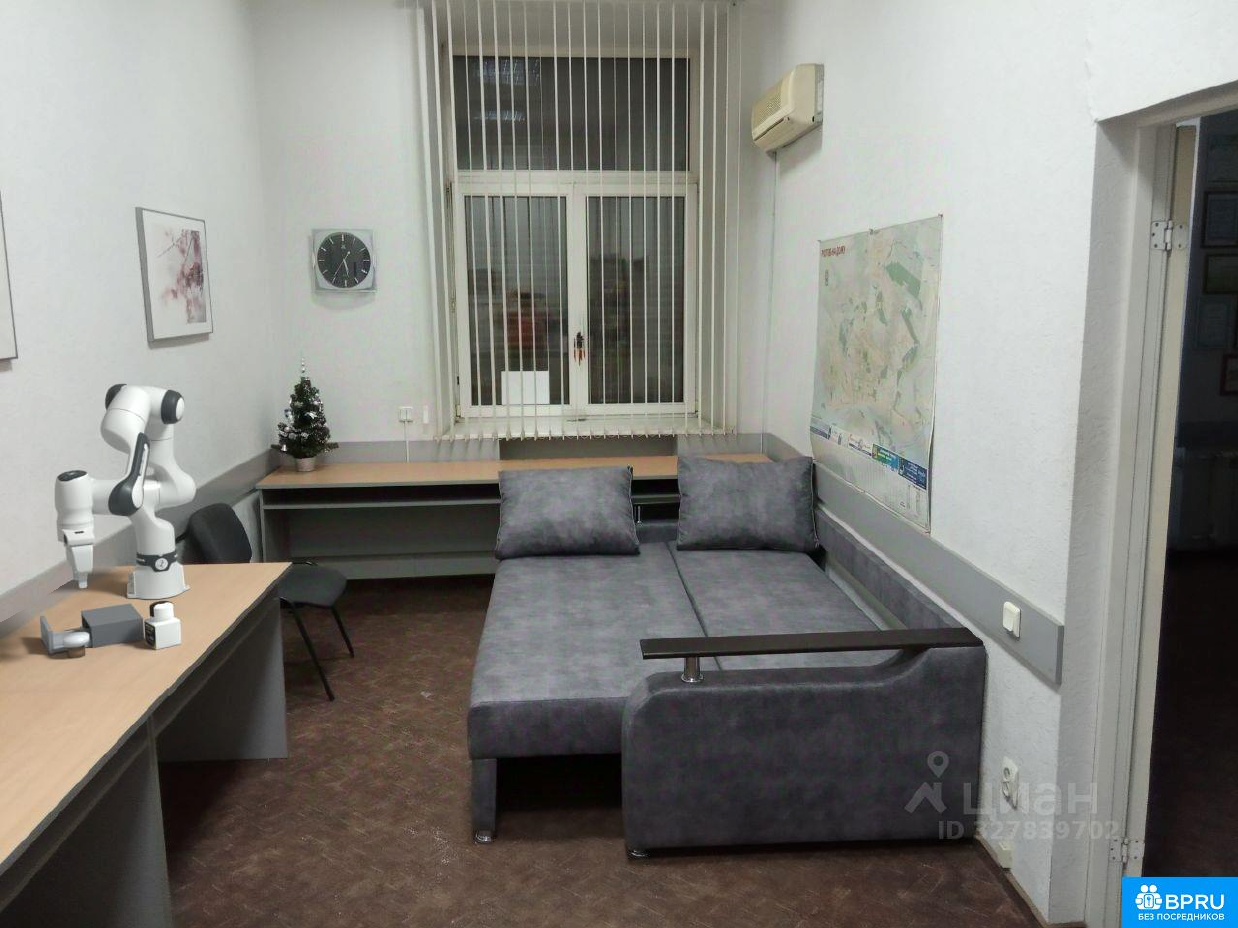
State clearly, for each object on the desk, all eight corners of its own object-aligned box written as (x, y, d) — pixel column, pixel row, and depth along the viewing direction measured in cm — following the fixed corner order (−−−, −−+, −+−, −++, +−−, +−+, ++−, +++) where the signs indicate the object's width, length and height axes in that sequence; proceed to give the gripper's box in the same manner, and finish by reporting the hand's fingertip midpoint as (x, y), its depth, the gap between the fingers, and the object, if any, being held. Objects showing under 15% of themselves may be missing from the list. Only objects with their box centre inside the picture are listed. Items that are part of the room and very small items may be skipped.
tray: (41, 638, 280) (39, 615, 278) (93, 629, 287) (91, 607, 286) (49, 654, 267) (48, 631, 266) (104, 645, 275) (102, 622, 274)
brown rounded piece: (67, 654, 268) (66, 642, 267) (84, 651, 270) (83, 639, 270) (69, 659, 265) (68, 646, 264) (86, 656, 267) (85, 643, 267)
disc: (60, 641, 268) (60, 634, 267) (87, 637, 271) (86, 630, 271) (64, 648, 263) (64, 641, 262) (91, 644, 266) (91, 637, 266)
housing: (82, 631, 286) (80, 610, 285) (131, 623, 294) (130, 603, 293) (92, 647, 273) (91, 626, 272) (144, 639, 281) (142, 617, 280)
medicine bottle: (145, 643, 278) (142, 602, 276) (170, 637, 283) (168, 597, 281) (155, 650, 273) (153, 608, 271) (181, 644, 278) (179, 602, 276)
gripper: (57, 527, 270) (61, 576, 272) (68, 541, 253) (72, 593, 255) (83, 524, 274) (87, 573, 276) (95, 538, 257) (99, 590, 259)
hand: (80, 583), depth 265 cm, fingers open, 8 cm apart
